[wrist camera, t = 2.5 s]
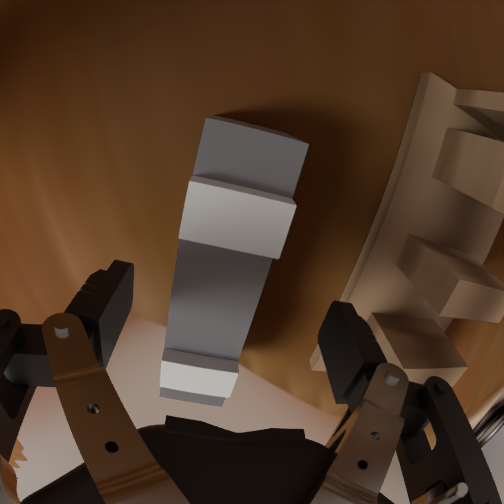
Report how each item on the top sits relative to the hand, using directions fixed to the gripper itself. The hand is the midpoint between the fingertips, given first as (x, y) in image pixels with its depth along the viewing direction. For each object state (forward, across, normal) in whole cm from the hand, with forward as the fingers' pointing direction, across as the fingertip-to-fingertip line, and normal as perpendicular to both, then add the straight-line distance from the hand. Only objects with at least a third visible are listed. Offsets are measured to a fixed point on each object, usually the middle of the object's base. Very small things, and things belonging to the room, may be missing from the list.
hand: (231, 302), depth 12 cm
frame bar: (+5, +1, +1) cm, 5 cm away
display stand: (+5, -12, -2) cm, 14 cm away
